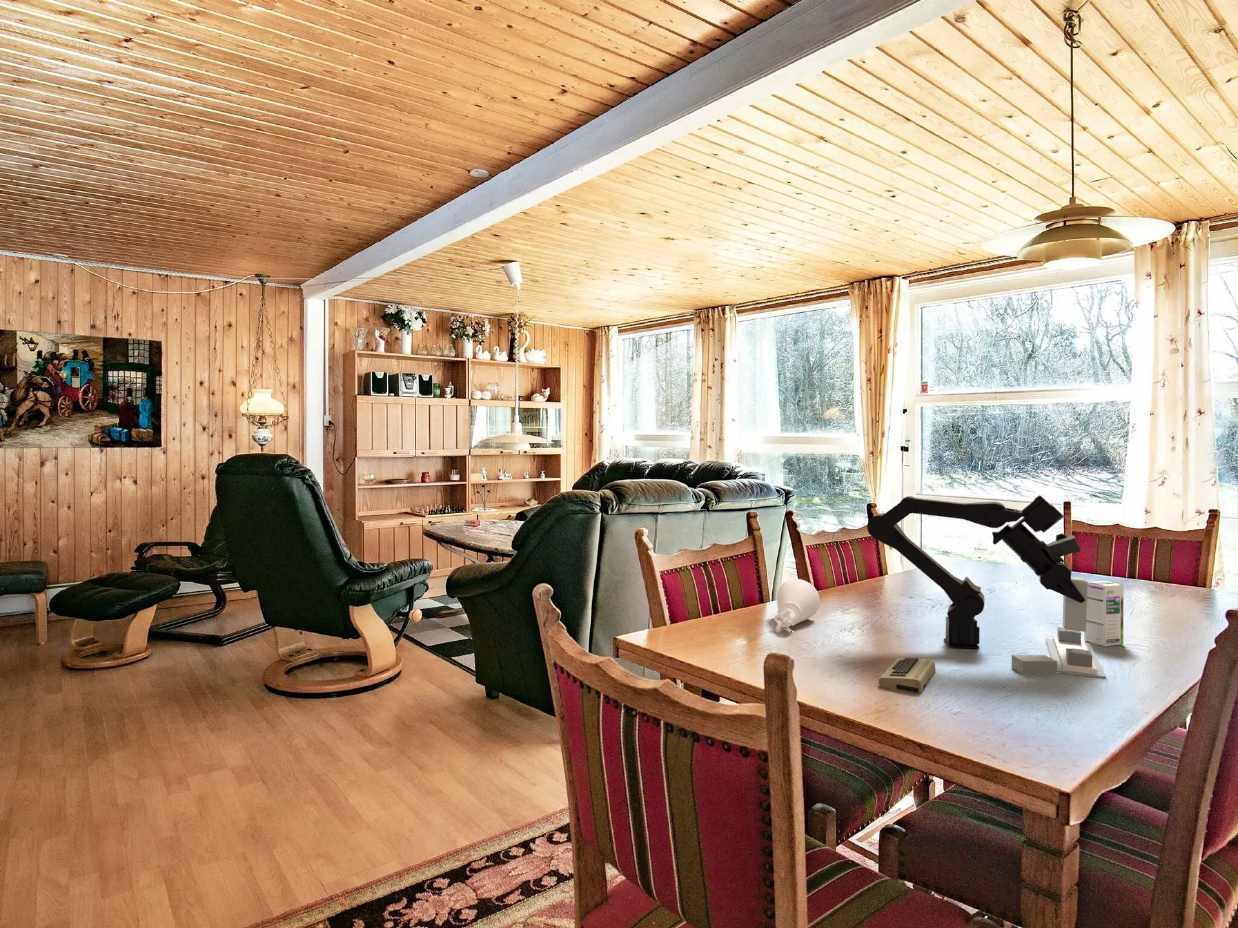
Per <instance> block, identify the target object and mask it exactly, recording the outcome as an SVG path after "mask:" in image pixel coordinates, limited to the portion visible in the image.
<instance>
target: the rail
mask: <svg viewBox="0 0 1238 928" xmlns="http://www.w3.org/2000/svg"><path fill="white" fill-rule="evenodd" d="M1045 643H1046V644H1047V645H1046V646H1047V649H1048V653H1049V656H1050V658H1051V659H1053V660H1055V661H1057V674H1066V675H1073V676H1082V677H1091V678H1097V679H1099V678H1100V679H1107V675H1106V673H1105V671H1104V669H1103V667H1102V665H1101V663H1100V661H1099V659H1098V658H1097V654H1096V653H1095V651H1094V648H1093V647H1092V644H1091V642H1085V640H1084V639H1083V638H1081V644H1078V643H1068V642H1059V641H1058V638H1057V635H1056V636H1055V635H1053V637H1052V638H1045ZM1066 648H1069V649H1072V648H1073V649H1083V650H1087V651H1090V652H1091V654H1092V668H1091V667H1082V666H1074V665H1067V662H1066Z"/></svg>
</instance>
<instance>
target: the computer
mask: <svg viewBox="0 0 1238 928" xmlns="http://www.w3.org/2000/svg"><path fill="white" fill-rule="evenodd" d="M934 674H936V664H935V661H934V660H933V659H927V658H918V657H904V658H903V657H902V658H899V657H898V658H896V659H895V661H894V662H893V663H892V664H891V665H890V666H889V667H888V668H887V669H886V671H884V673H883V674H882V675H881V676H879V678H878V685H879V687H881V688H885V689H890V688H891V689H892V690H899V691H905V692H910V693H915V694H916V693H917V694H919V695H920V694H922V693H923V691H924V688H926V687H927V686H928V684H929V683H930V681H931V678H933V675H934Z"/></svg>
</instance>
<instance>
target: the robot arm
mask: <svg viewBox="0 0 1238 928" xmlns="http://www.w3.org/2000/svg"><path fill="white" fill-rule="evenodd" d="M910 514H917V515H925V516H935V517H941V518H951V519H958V520H964V521H967V522H970V523H973V524H977V525H980V526H984V527H986V528H990V529H999V528H1001V527H1003V526H1004V527H1003V528H1001V529H1000V530H998V531H992V533H991V534H992V537H993V538H992V544H993V545H997V544H998V543H1000V541H1002V542H1003V543H1004V544H1005V545H1006V546H1007V547H1009V548H1010V549H1011V551H1012V552H1014V554H1016V555H1017V556H1018V557H1019V558H1020V560H1021V561H1022V562H1023V563H1025V564H1026V566H1028V567H1029V569H1031V570H1032V571H1033V572H1034V574H1035V575H1036V576H1037V577H1039V583H1040V584H1041V586H1043V587H1044V588H1045V590H1049V591H1053V592H1056V593H1058V594H1060V595H1062V596H1066V597H1069V598H1071V599H1073V600H1075V601H1077V602H1079V603H1083V602H1084V601H1085V599H1084V597H1083V596H1082V595H1081V593H1080V592H1079V591H1078V589H1077V588H1076V586H1075V585H1074V584H1073V582H1072V581H1071V577H1072V573H1073V572H1072V570H1071V569H1070V568H1069V567H1068V564H1067V563H1066V562H1065V560H1064V558H1063V557H1064V556H1068V555H1069V554H1077V553H1079V552H1081V551H1082V548H1081V546H1080V544H1079V542H1078V540H1077V538H1076V536H1074V535H1069V536H1067V535H1065V534H1064V533H1063V532H1062V533H1059V534H1056V535H1055V540H1053V541H1051V542H1049V543H1045V541H1044V540H1040V539H1039V538H1038V537H1037V536H1036V535H1035V534H1034V533H1038V532H1042V533H1046V532H1047V531H1048V530H1049V529H1051V528H1052V527H1053V526H1055V525H1056V524H1057V523H1059V522H1060V521H1061V520H1062V519H1063V518H1065V515H1064V514H1062V512H1060V511H1059V510H1058V509H1057V508H1056V507H1055V506H1054V505H1053V504H1051V503H1049V502H1048V501H1047V500H1046V499H1045V498H1044V497H1043V496H1042V495H1040V494H1039V495H1038V496H1036V497H1034V499H1033V501H1031V502H1030V503H1029V504H1027V506H1025V507H1024V508H1023V509H1017V508H1015V509H1014V508H1010V507H1006V506H1005V505H1004V504H1003V503H1001V502H999V501H980V502H979V501H978V502H957V501H948V500H939V499H930V498H920V497H916V496H911V495H910V496H905V497H903V498H902V499H901V500H900V501H899V503H897V504H896V505H894V506H893V507H892V508H891V509H889V510H888V511H886V512H885V513H884V512H883V513H878V514H876V515H874V516H872V517H871V518H870V519H869V520H868V521H867V525H866V528H867V532H868V534H869V536H871V537H872V538H874V539H875V540H877V541H879V542H880V543H882V544H884V545H886V546H888V547H891V548H892V549H894V550H896V552H899V553H900V554H901V555H902V557H904V558H906V560H907V561H908V562H910V563H911V564H912V565H913V566H915V567H916V568H917V569H918V570H920V572H922V573H923V574H924V575H926V576H927V577H928V578H929V579H930V580H931V581H933V582H934V583H935V584H936V585H937V586H938V587H940V589H942V590H943V591H944V593H945V594H946V595H947V597H948V599H950V601H951V604H949V605H948V610H947V613H946V615H947V616H945V637H944V638H943V641H944V643H945V644H946V645H947V646H948V647H949V648H959V649H960V648H961V649H977V650H978V649H980V646H979V645H980V632H981V631H980V626H979V625H978V620H977V619H975V617H976V616H978V615H980V614H982V612H983V611H984V608H985V603H986V602H985V596H984V594H983V592H982V590H981V589H982V588H981V586H978V585H976V584H975V583H974V582H973V581H972V580H971V579H970V578H969V577H968V576H965V577H964V579H960V578H958V577H957V576H955V575H953V574H952V573H951V572H950V571H948V570H947V568H945V567H944V566H942V564H940V563H939V562H938V561H936V560H935V559H934V558H933V557H932V556H930V554H928V553H927V552H925V551H924V550H923V549H922V548H921V547H920V546H918V544H916V543H915V542H913V540H911V539H910V538H909V537H908V536H907V535H906V534H905V532H904V531H903V529H902V528H901V526H900V525H899V524H898V523H900V522H901V521H903V520H904V519H905V518H906V517H907V516H909V515H910ZM1012 522H1015V524H1013V525H1012V526H1011V525H1010V524H1006V523H1012ZM1023 523H1025V524H1026V525H1027V526H1028V527H1029V528H1031V530H1032V531H1034V533H1032V531H1031V530H1030V529H1028V527H1027V526H1025V525H1024V524H1023ZM1005 524H1006V525H1005Z"/></svg>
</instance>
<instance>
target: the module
mask: <svg viewBox="0 0 1238 928" xmlns="http://www.w3.org/2000/svg"><path fill="white" fill-rule="evenodd" d="M1071 581H1072V582H1073V584H1074V585H1075V586H1076V588H1077V589H1078V591H1079V592H1080V593H1081V595H1082V596H1083V597H1084V599H1085V601H1084V602H1083V603H1079V602H1077V601H1075V600H1073V599H1071V598H1069V597H1066V596H1064V595H1062V596H1063V598H1062V600H1063V601H1062V602H1063V603H1062V628H1063V627H1064V629H1065V630H1073V631H1080V632H1081V633H1082V632H1086V614H1087V586H1088V582H1089V581H1087V579H1086V578H1085V577H1082V576H1071Z"/></svg>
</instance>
